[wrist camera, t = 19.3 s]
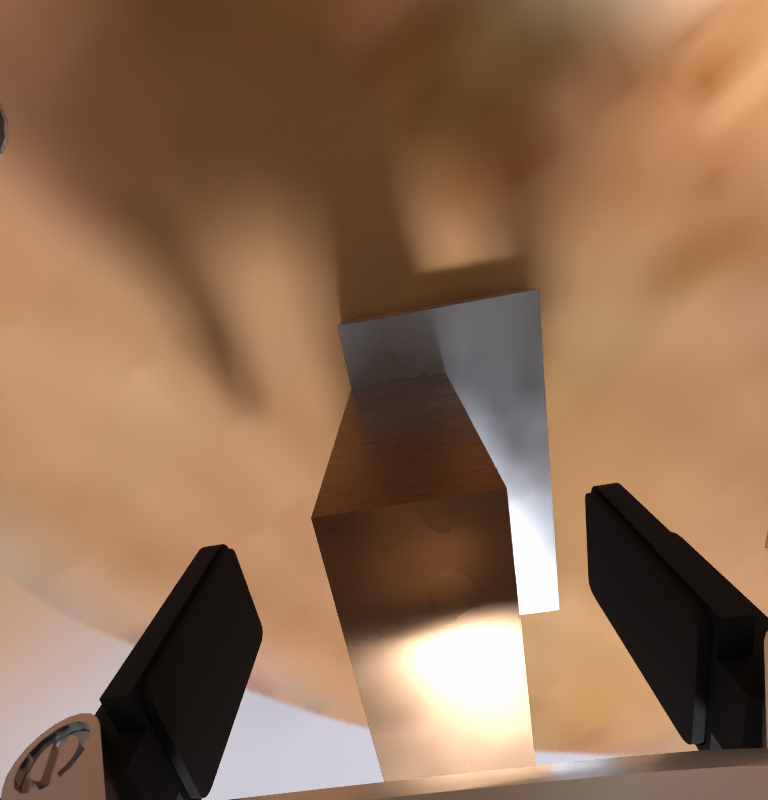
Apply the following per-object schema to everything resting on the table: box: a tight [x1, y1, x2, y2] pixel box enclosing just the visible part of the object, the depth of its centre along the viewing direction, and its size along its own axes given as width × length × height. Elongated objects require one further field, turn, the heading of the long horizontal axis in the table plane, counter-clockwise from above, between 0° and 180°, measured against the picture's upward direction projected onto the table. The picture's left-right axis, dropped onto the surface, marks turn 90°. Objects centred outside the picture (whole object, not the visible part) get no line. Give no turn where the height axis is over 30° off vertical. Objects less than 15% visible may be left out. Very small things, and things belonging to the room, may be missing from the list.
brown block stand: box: [311, 288, 559, 782], centre depth 11 cm, size 12×6×8 cm, turn 10°
